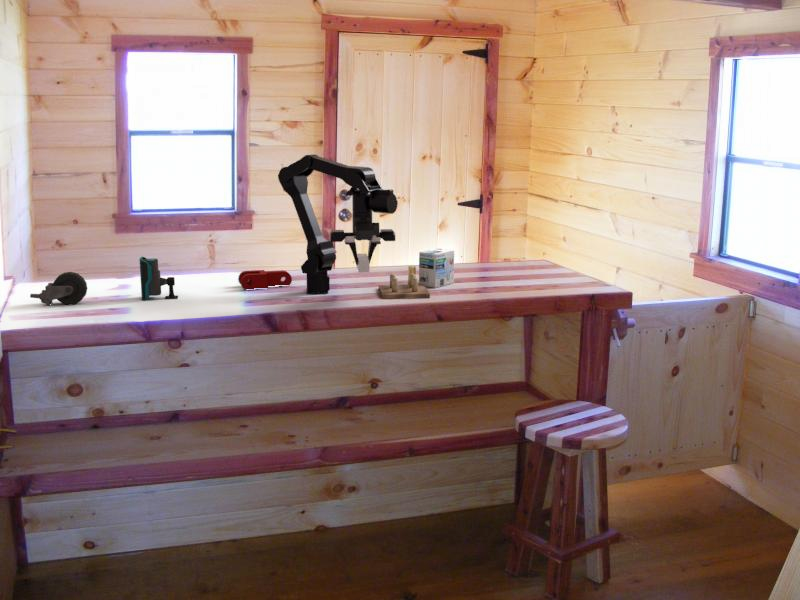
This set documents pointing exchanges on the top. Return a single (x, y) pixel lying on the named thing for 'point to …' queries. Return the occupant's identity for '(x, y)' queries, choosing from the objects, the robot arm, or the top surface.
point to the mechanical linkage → (263, 278)
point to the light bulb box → (436, 267)
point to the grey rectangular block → (363, 263)
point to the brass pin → (411, 271)
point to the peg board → (403, 289)
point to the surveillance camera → (153, 279)
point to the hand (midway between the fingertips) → (362, 264)
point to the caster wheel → (64, 289)
